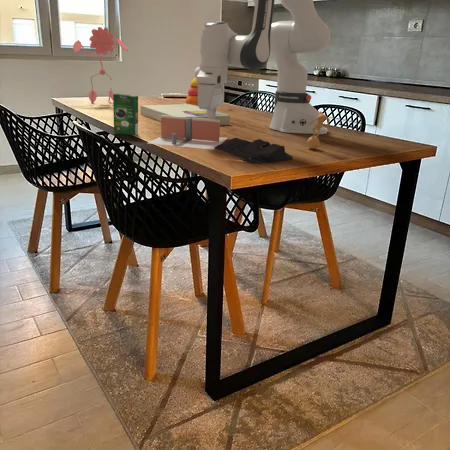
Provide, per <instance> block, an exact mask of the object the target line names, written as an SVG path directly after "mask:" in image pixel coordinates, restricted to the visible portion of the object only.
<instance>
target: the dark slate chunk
mask: <svg viewBox="0 0 450 450" xmlns="http://www.w3.org/2000/svg"><path fill="white" fill-rule="evenodd" d="M214 150H218V151H221V152H224V153H228V154H229V155H231V156H234V157H237V158H240V160H239V161H242V160H243V162H245V161H246V162H245V163H248V164H251V163H252V164H253V165H254V164H256V165H263V164H265V165H266V164H271V163H272V164H273V163H275V164H276V163H281V162H285V161H289V160H291V159H293V157H292V155H291V154H289V153H287V152H286V149H285V145H280V144H276V143H270V142H269V141H267V140H264V139H261V138H258V139H255V140H253V141H249V140H246V139H242V138H238V137H234V138H230V139H228V140H227V141H226V140H225V141H224V142H222V143H221V144H220V145H218V146H216V147H215V149H214Z"/></svg>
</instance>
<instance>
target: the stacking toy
mask: <svg viewBox="0 0 450 450" xmlns="http://www.w3.org/2000/svg"><path fill="white" fill-rule="evenodd" d="M199 71H200V66H198V67H196V68H195V70H194V75H195V77H194V78H193V79H192V80H191V82H190V84H189V85H190V87H189V88H188V92H187V96H186V99H185V102H184V103H183V104H191V105H195V106H198V84H199V83H197V82H196V78H197V75H198V74H199ZM198 107H199V106H198Z"/></svg>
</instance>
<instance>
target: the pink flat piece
mask: <svg viewBox="0 0 450 450" xmlns="http://www.w3.org/2000/svg"><path fill="white" fill-rule="evenodd" d="M172 134H177V138H184V139H185V138H186V140H192V118H186V117H179V116H167V115H161V123H160V137H161V136H162V137H172Z"/></svg>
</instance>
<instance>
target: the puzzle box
mask: <svg viewBox="0 0 450 450" xmlns="http://www.w3.org/2000/svg"><path fill="white" fill-rule="evenodd" d="M140 115H141V116H144V117H147V118H150V119H153V120H156V121H158V122H161V115H167V116H179V117H186V118H192V119H193V118H203V119H207V117H208V116H207V110H206V109H200V108H199V107H198V106H195V105H191V104H184V103H175V104H144V105H140ZM230 117H231V115H230V114H226V113H223V112H220V111H216V114H215V120H220V126H230V121H231V120H230Z"/></svg>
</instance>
